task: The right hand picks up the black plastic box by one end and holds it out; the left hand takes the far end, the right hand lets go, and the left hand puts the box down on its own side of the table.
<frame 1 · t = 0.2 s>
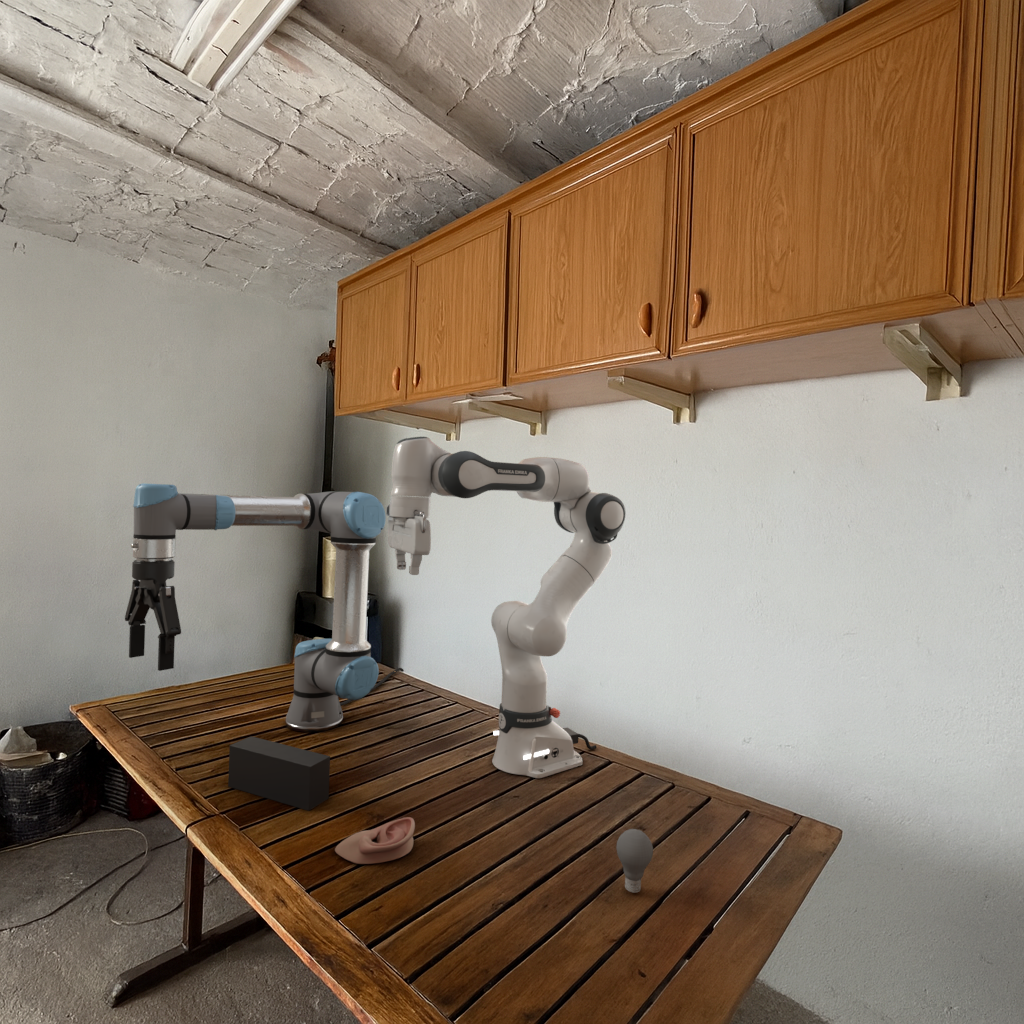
left hand: (150, 662, 130), 28 cm above the table, tool pointing down, fingers open, 13 cm apart
right hand: (407, 572, 140), 47 cm above the table, tool pointing down, fingers open, 8 cm apart
fossil: (329, 681, 216), on the table
light bulb: (632, 891, 106), on the table
box: (277, 792, 135), on the table
anatomical model: (375, 848, 115), on the table
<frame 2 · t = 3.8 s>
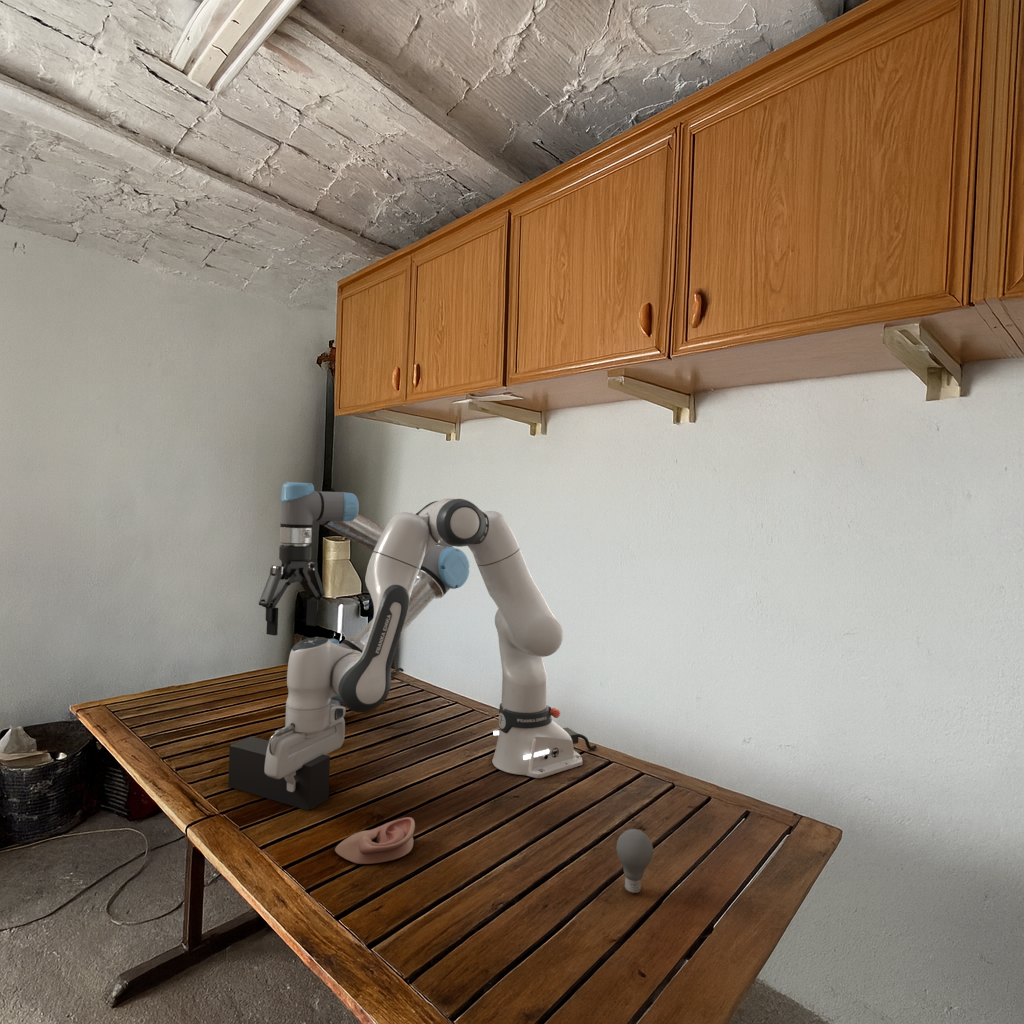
left hand: (292, 630, 157), 30 cm above the table, tool pointing down, fingers open, 13 cm apart
right hand: (305, 783, 132), 4 cm above the table, tool pointing down, fingers closed on box, 6 cm apart
box: (277, 792, 135), on the table, touching right hand
everything else where it was.
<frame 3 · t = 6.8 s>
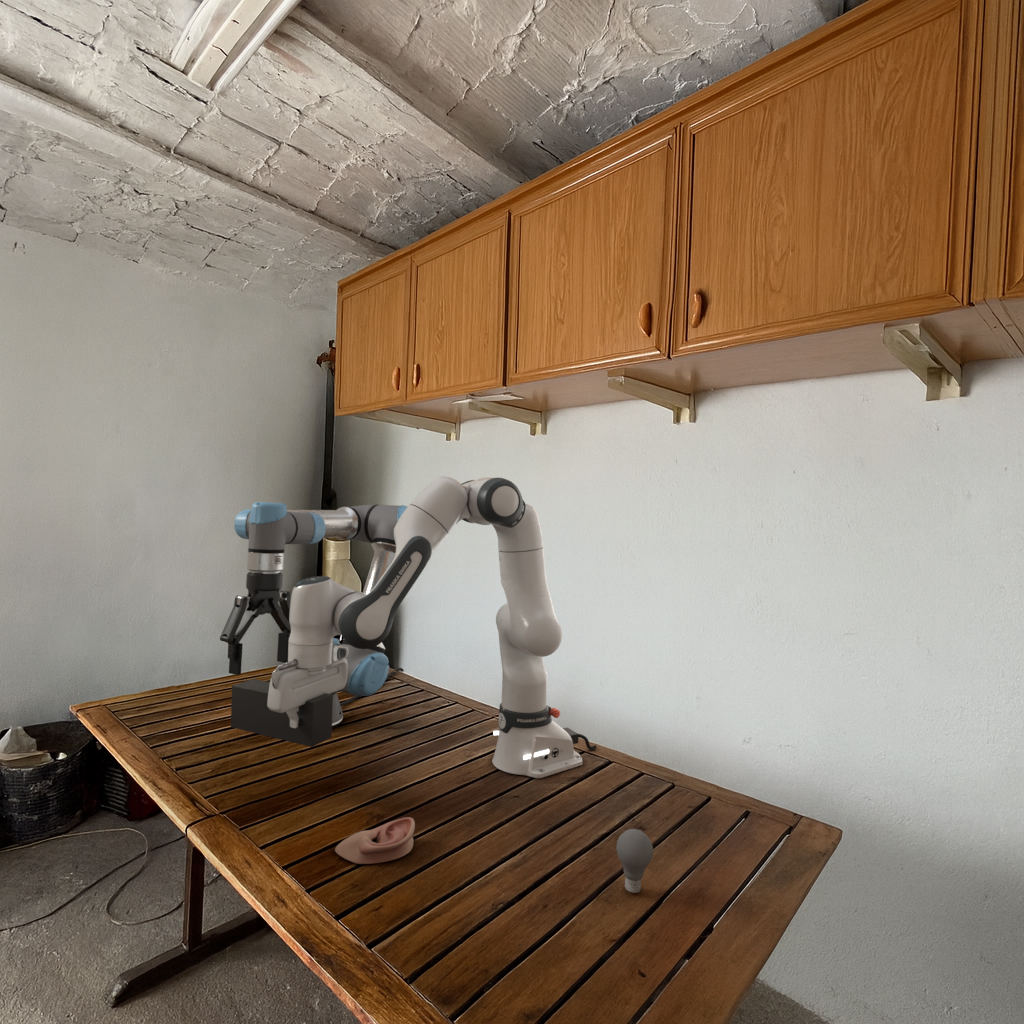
left hand: (259, 667, 140), 25 cm above the table, tool pointing down, fingers open, 13 cm apart
right hand: (308, 721, 132), 17 cm above the table, tool pointing down, fingers closed on box, 6 cm apart
box: (280, 732, 135), point 13 cm above the table, touching right hand
everything else where it was.
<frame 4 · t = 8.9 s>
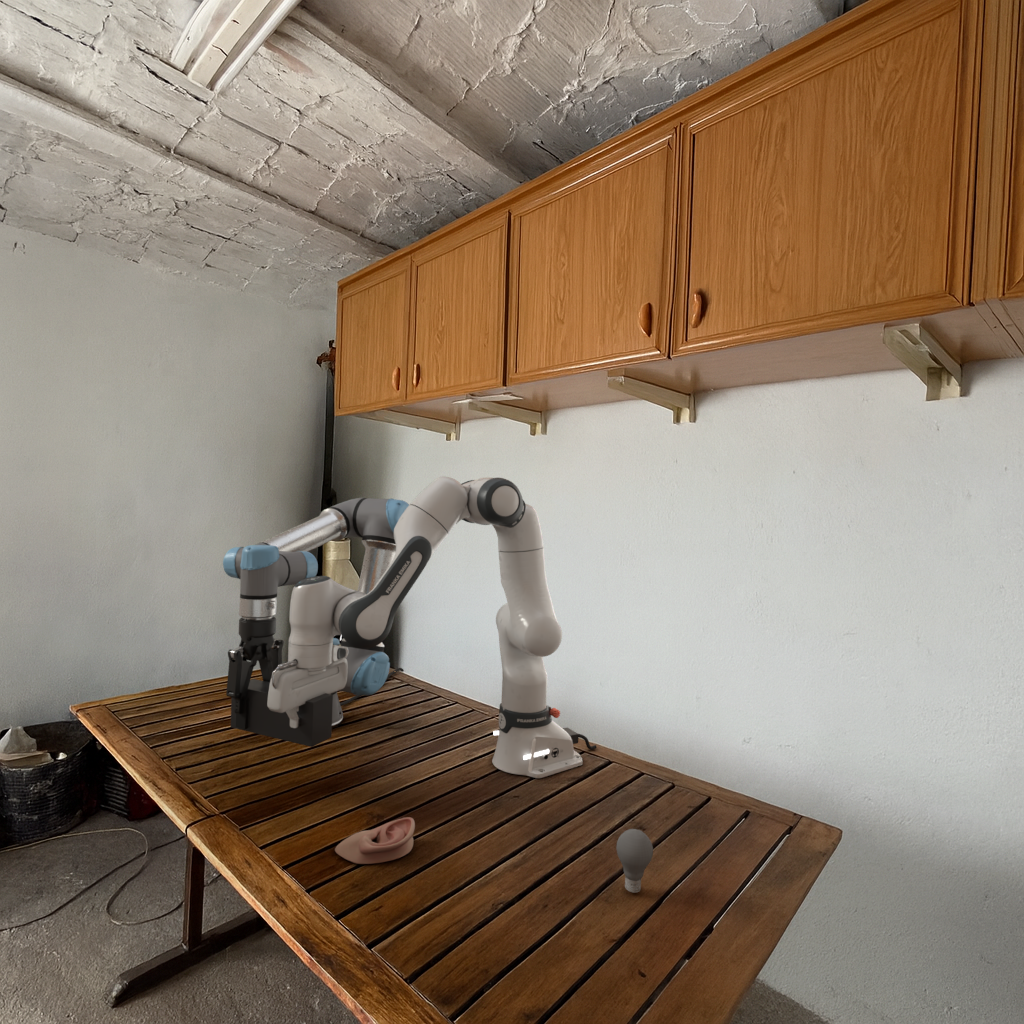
left hand: (254, 722, 138), 14 cm above the table, tool pointing down, fingers closed on box, 6 cm apart
right hand: (308, 721, 132), 17 cm above the table, tool pointing down, fingers closed on box, 6 cm apart
box: (280, 732, 135), point 13 cm above the table, touching left hand, right hand
everything else where it was.
when the right hand's fingers open (17 cm above the table, at t = 9.8 s): box moves 1 cm, held by the left hand.
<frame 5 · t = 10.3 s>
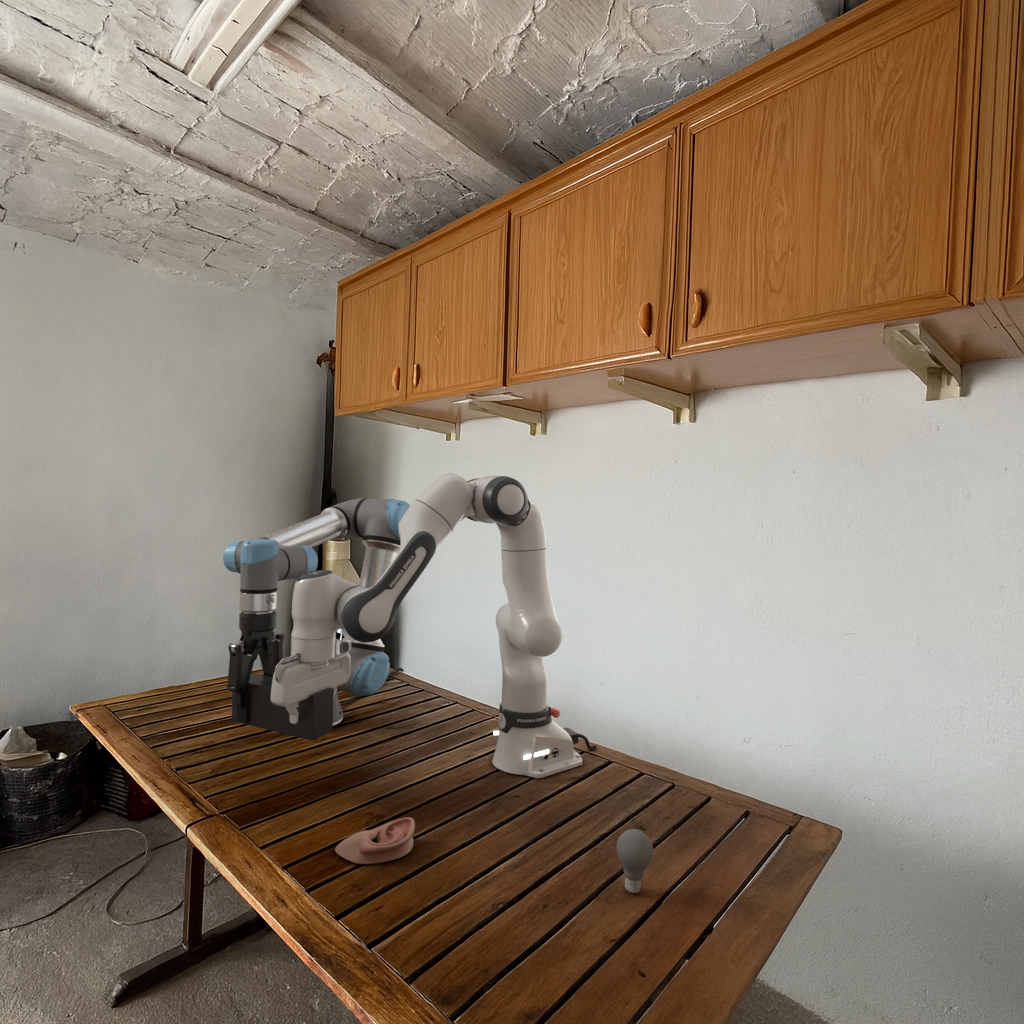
left hand: (255, 716, 138), 15 cm above the table, tool pointing down, fingers closed on box, 6 cm apart
right hand: (311, 715, 131), 18 cm above the table, tool pointing down, fingers open, 8 cm apart
box: (281, 725, 135), point 14 cm above the table, touching left hand
everything else where it was.
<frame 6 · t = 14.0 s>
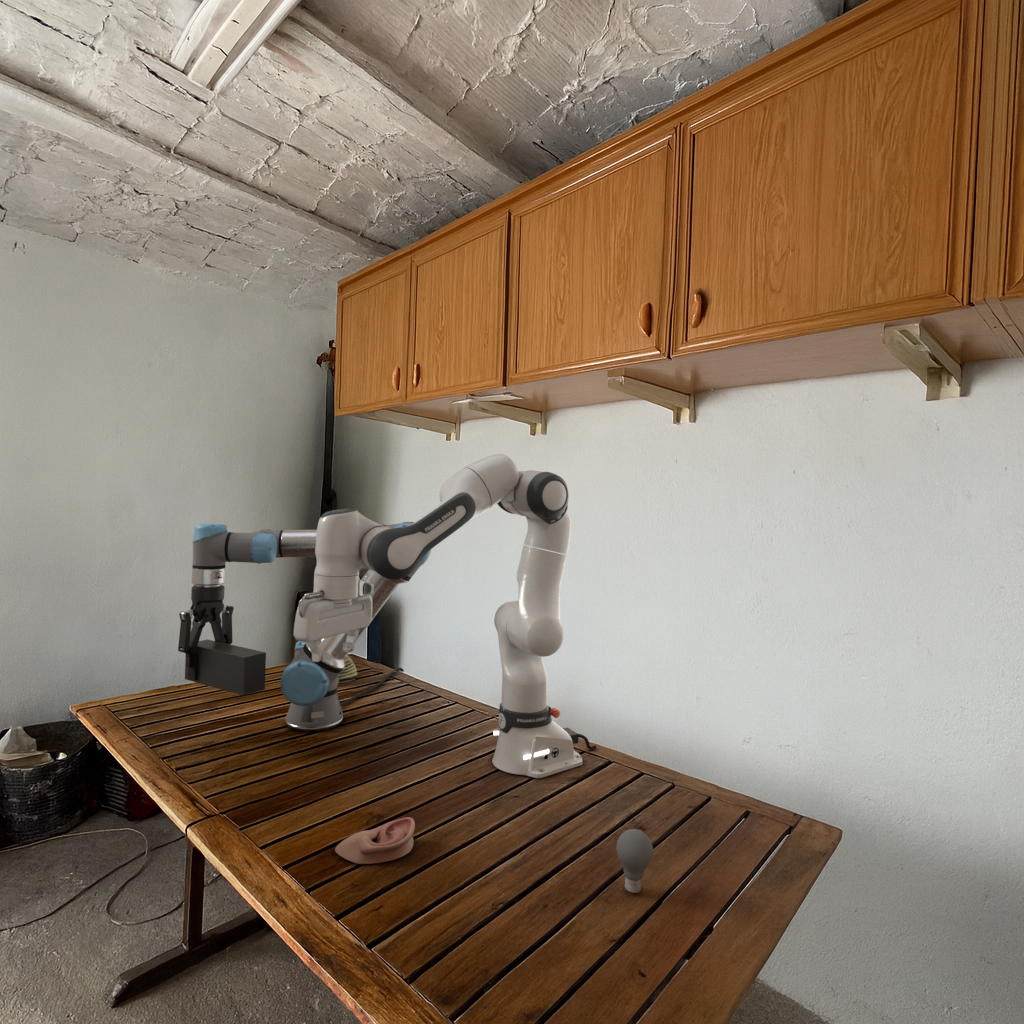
left hand: (205, 676, 160), 17 cm above the table, tool pointing down, fingers closed on box, 6 cm apart
right hand: (333, 656, 129), 31 cm above the table, tool pointing down, fingers open, 8 cm apart
box: (224, 684, 156), point 16 cm above the table, touching left hand
everything else where it was.
when the left hand's fingers open (2 cm above the table, at t = 19.6 s): box drops 1 cm, on the table.
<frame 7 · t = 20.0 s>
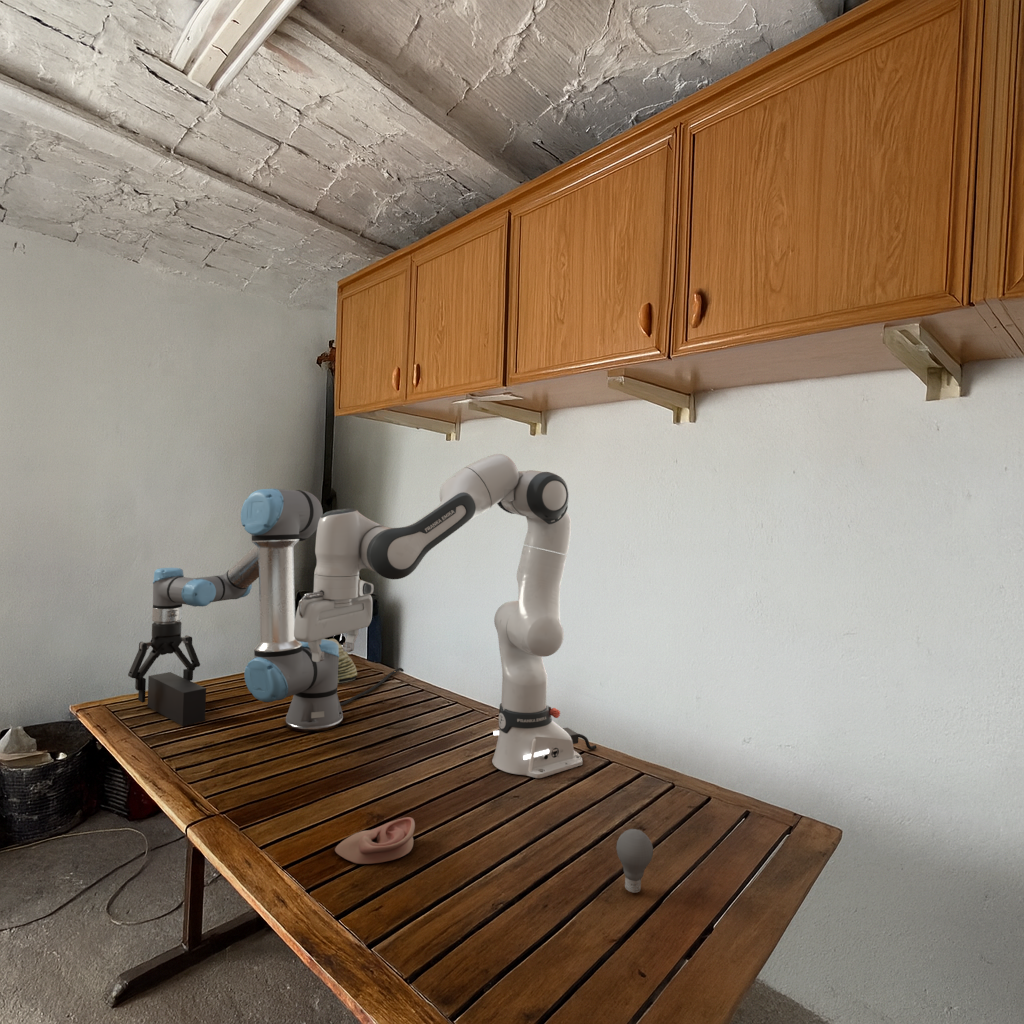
left hand: (164, 696, 183), 3 cm above the table, tool pointing down, fingers open, 11 cm apart
right hand: (333, 656, 129), 31 cm above the table, tool pointing down, fingers open, 8 cm apart
box: (175, 713, 179), on the table
everything else where it was.
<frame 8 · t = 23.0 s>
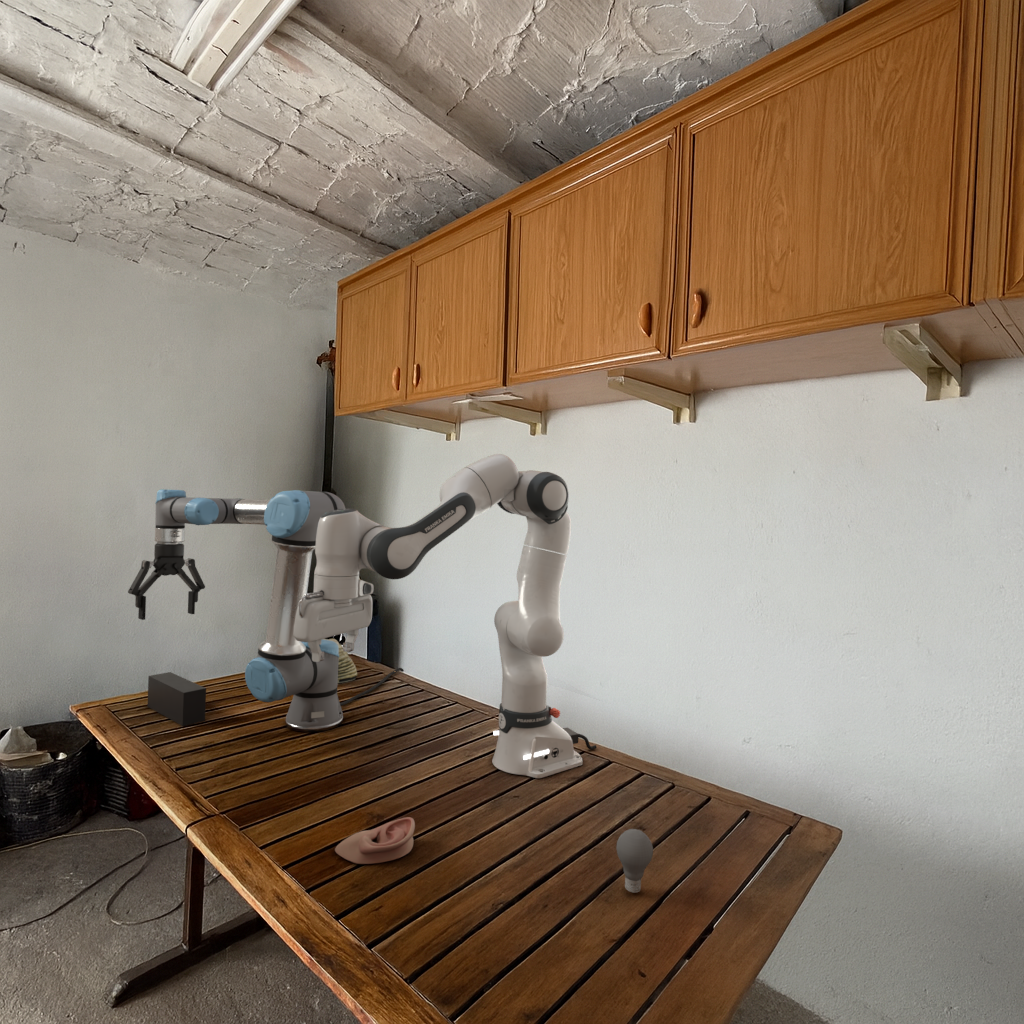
left hand: (167, 616, 183), 26 cm above the table, tool pointing down, fingers open, 13 cm apart
right hand: (333, 656, 129), 31 cm above the table, tool pointing down, fingers open, 8 cm apart
nothing on the table moved.
at the end: box inside the target area (7.3 cm from its centre), on the table; the left hand is holding nothing; the right hand is holding nothing; box at rest at the end (0.0 cm/s) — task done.
